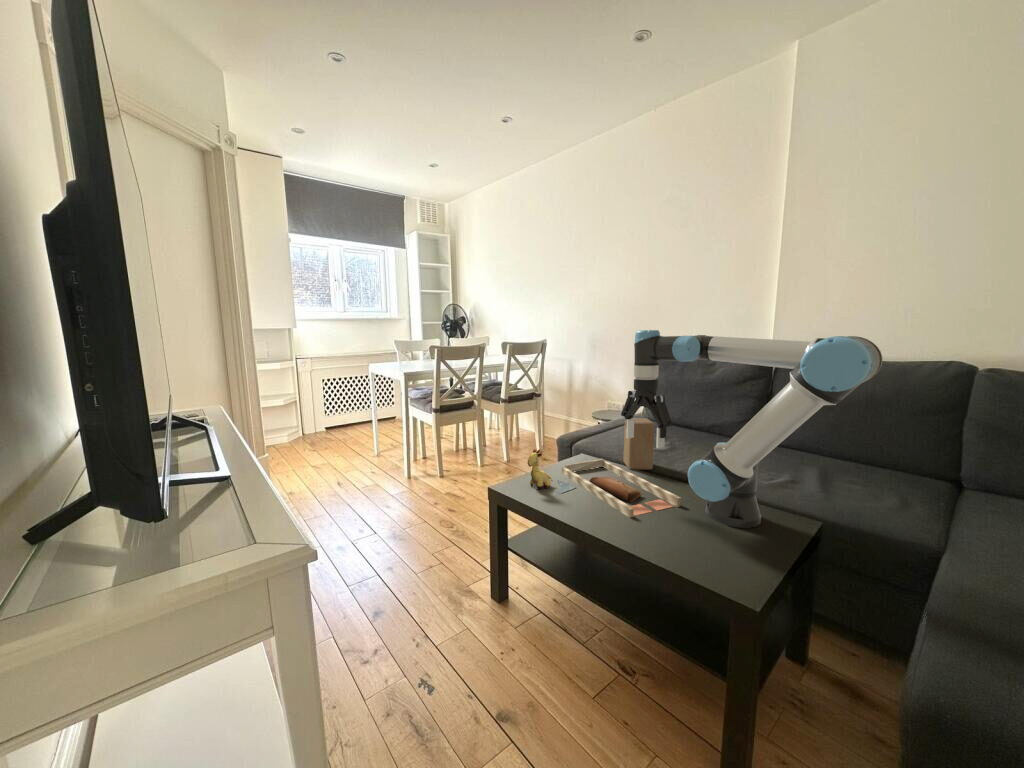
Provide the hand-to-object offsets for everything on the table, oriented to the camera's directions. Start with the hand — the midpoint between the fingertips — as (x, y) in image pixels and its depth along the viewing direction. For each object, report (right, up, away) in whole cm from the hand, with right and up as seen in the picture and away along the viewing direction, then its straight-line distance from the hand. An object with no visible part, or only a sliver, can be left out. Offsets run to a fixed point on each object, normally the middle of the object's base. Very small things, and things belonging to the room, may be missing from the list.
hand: (644, 442), depth 132 cm
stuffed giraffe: (-32, -20, +15) cm, 41 cm away
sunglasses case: (-5, -20, +13) cm, 24 cm away
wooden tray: (-6, -19, +15) cm, 25 cm away
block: (+10, -16, +39) cm, 43 cm away
